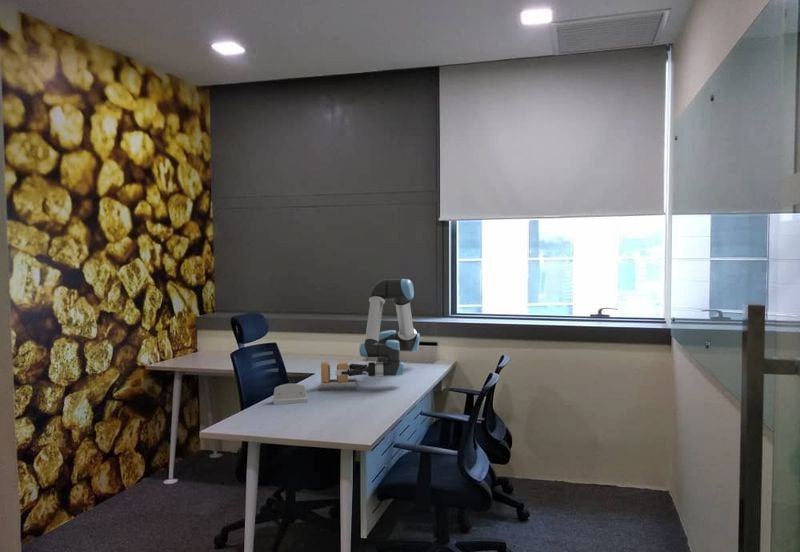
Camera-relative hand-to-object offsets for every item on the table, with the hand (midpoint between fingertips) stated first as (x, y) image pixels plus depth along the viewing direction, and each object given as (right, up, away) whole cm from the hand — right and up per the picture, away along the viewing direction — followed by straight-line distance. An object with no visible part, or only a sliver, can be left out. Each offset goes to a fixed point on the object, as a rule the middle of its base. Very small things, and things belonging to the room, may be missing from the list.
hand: (336, 369), depth 312 cm
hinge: (-20, -12, -26) cm, 35 cm away
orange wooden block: (+4, -8, +1) cm, 9 cm away
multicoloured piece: (+1, -10, +1) cm, 10 cm away
